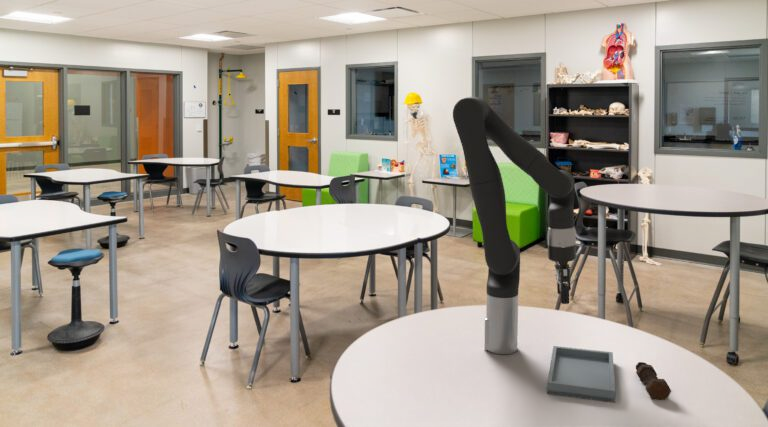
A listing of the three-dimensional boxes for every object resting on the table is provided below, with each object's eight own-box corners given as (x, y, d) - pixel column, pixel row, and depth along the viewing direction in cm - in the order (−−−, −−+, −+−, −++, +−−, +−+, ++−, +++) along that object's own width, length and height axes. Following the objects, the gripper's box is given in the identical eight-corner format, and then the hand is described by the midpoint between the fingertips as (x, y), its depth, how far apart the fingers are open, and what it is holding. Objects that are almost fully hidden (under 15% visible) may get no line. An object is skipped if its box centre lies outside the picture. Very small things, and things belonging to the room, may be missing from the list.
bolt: (643, 380, 161) (661, 405, 147) (627, 370, 161) (643, 395, 147) (656, 362, 160) (675, 386, 145) (639, 353, 160) (656, 376, 146)
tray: (546, 393, 151) (547, 382, 150) (553, 355, 173) (553, 345, 173) (614, 402, 146) (615, 391, 145) (612, 362, 168) (612, 352, 167)
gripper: (545, 237, 173) (547, 291, 176) (550, 249, 160) (552, 307, 162) (572, 236, 172) (573, 290, 175) (579, 248, 158) (580, 306, 161)
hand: (563, 298), depth 169 cm, fingers open, 8 cm apart
